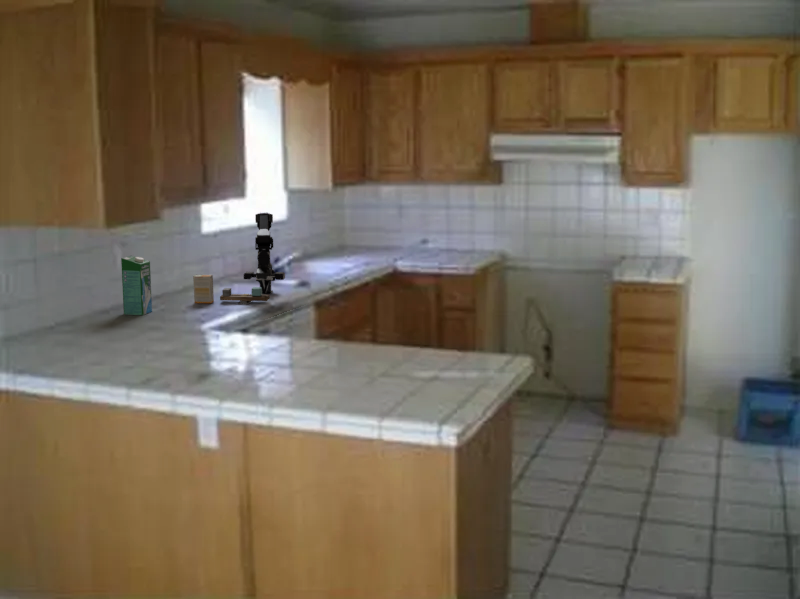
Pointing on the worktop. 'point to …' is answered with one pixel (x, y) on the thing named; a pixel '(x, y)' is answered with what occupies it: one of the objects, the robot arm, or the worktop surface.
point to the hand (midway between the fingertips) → (264, 293)
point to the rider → (256, 291)
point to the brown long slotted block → (242, 297)
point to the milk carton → (136, 285)
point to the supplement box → (203, 289)
